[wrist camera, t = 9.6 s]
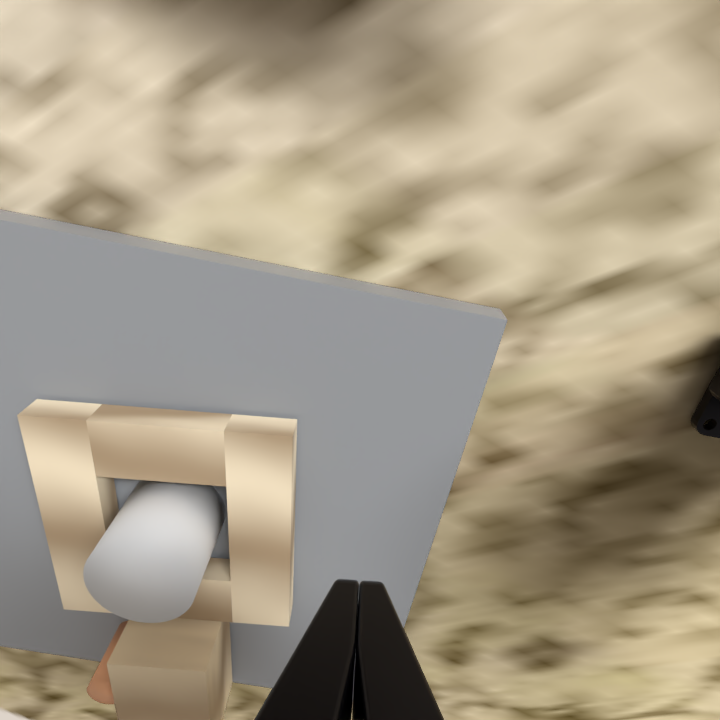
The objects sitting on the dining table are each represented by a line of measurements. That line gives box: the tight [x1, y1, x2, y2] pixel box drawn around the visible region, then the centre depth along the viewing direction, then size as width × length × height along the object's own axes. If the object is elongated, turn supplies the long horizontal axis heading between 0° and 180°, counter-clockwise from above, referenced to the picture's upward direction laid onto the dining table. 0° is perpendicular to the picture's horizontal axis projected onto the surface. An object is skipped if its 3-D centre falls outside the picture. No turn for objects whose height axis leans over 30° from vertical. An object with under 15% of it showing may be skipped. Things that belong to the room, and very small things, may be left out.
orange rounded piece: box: [87, 621, 128, 704], centre depth 24 cm, size 2×2×3 cm
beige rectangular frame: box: [17, 399, 297, 720], centre depth 22 cm, size 16×10×4 cm, turn 176°
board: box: [0, 209, 507, 701], centre depth 21 cm, size 22×22×5 cm
